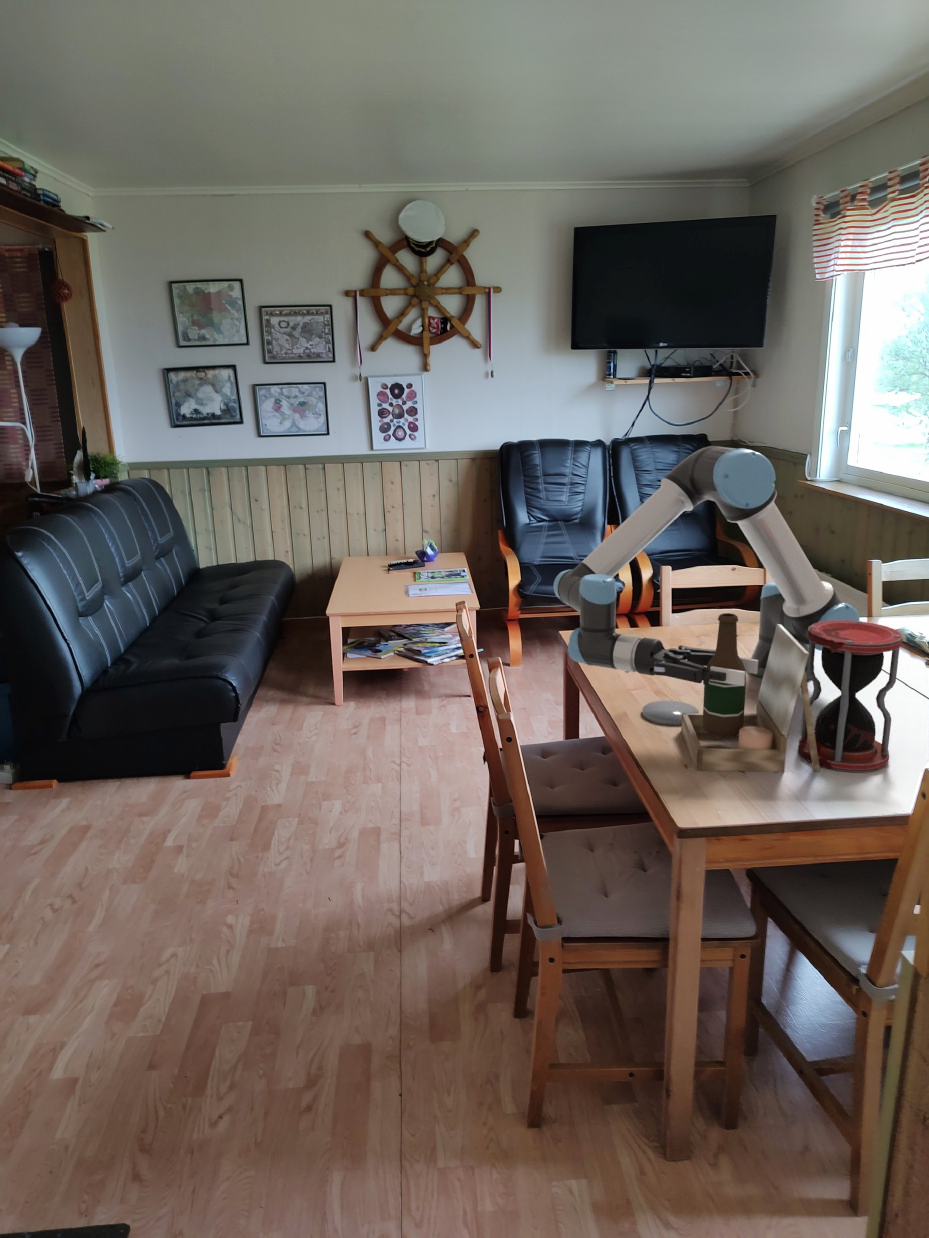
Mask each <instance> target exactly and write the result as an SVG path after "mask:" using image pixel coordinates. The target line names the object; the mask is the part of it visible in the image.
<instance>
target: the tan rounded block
mask: <svg viewBox="0 0 929 1238" xmlns="http://www.w3.org/2000/svg"><path fill="white" fill-rule="evenodd" d="M772 736H773V733H772V732H771V731H770V730H768V729H766V728H762V727H757V726H747V727H743V728H741V729H740V730H739V735H738V745H737V749H772Z"/></svg>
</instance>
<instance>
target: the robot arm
mask: <svg viewBox="0 0 929 1238" xmlns="http://www.w3.org/2000/svg"><path fill="white" fill-rule="evenodd" d="M776 480H777V478H776V472H775V469H774V467H773V465H772V463H771V461H770V460H769V458H767V457H766V456H765V455H764V454H761V453H760V452H757V451H755V450H752V449H749V448H748V449H747V448H742V447H741V448H740V447H739V448H734V447H726V446H725V447H724V446H718V445H710V446H706V447H702V448H700V449H698V450H696V451H695V452H693V453H691V454H690V455H689V456H686V458H684V459H683V460H682V461H681V462H679V464H677V465H676V466H675V467H673V469H672V470H671V471H670V472H668V473H667V474H666V475H664V477H663V478H662V479H661V480H660V487H659V488H658V489H657V490H656V491H655V492H654V493H652V495H650V497H648V498H647V499H646V500H645V501H644V502H643V503H642V504H641V505H640V506H639V507H638V508H637V509H636V510H634V511H633V513H631V514H630V515H629V516H628V517H627V518H626V519H625V520H624V521H623V522H622V523H621V524H620V525H618V527H617V528H615V530H614V531H613V532H612V533H610V535H608V536H607V537H606V538H605V539H604V540H603V541H602V542H601V543H600V544H599V545H598V546H597V547H595V548H594V550H593V551H591V552H590V553H589V554H588V555H587V557H585V558H584V559H583V560H582V561H581V562H580V563H578V565H577V566H576V567H574V569H567V570H563V571H561V572H559V573H558V575H556V577H555V579H554V582H553V591H554V594H555V596H556V597H557V598H558V599H559V600H560V601H561V603H563V604H565V605H566V606H569V607H571V608H572V609H574V610H575V611H576V612H578V613H579V623H580V624H579V627H578V628H577V627H576V628H575V629H573V631H572V632H571V633H570V636H569V638H568V639H569V642H568V643H567V650H568V651H567V652H568V655H569V658H571V660H572V661H574V662H576V663H580V664H584V665H587V666H591V667H592V666H594V667H600V668H607V669H608V668H609V669H614V670H617V671H624V673H625V674H629V672H631V673H638V674H641V675H646V676H662V677H663V676H664V677H669V678H674V679H677V680H682V681H687V682H691V683H695V684H701V683H702V684H703V686H704V685H708V684H709V679H710V681H716V682H722V683H728V684H734V685H740V686H744V685H745V671H739V670H733V669H727V668H720V667H714V666H711V667H710V670H709V668H708V667H707V665H708V662H709V661H710V659H711V658H712V657H713V656H714V654H715V651H716V649H709V648H699V647H691V646H686V645H677V647H678V648H676V647H675V648H674V647H671V648H665V647H664V645H663V642H662V640H660V639H656V638H652V637H651V638H650V637H641V636H638V635H631V634H625V633H624V634H622V633H618V632H617V633H616V628H617V627H616V626H617V624H616V617H617V614H616V613H617V597H618V594H617V584H616V578H614V577H615V576H616V575H617V574H619V572H621V571H622V570H623V569H624V568H625V567H626V566H627V565H628V564H629V563H630V562H631V561H632V560H633V559H634V558H636V556H637V555H639V554H640V553H641V552H642V551H643V550H644V549H645V548H646V547H647V546H648V545H649V544H651V542H653V541H654V539H656V538H657V537H658V536H659V535H660V534H661V533H662V532H663V531H664V530H666V529H667V528H668V527H669V526H670V524H672V523H673V522H674V521H675V520H676V519H678V518H679V516H680V515H681V514H683V512H685V511H686V512H691V511H693V510H694V508H695V507H697V506H698V505H700V504H701V503H702V502H705V501H712V502H715V503H716V505H717V506H718V508H719V510H720V511H721V513H722V515H723V517H724V518H725V519H726V521H727V522H730V523H733V524H734V523H737V524H738V526H739V528H740V530H741V531H742V533H743V534H744V536H745V537H746V539H747V541H748V543H749V544H750V546H751V547H752V549H753V551H754V552H755V553H756V556H757V557H758V559H759V561H760V562H761V564H762V565H763V567H764V568H765V571H767V573H768V575H769V576H770V578H771V580H772V581H769V582H767V583H765V584H764V585H763V586H762V590H761V595H760V612H759V627H758V639H757V643H756V645H755V648H754V650H753V653H752V655H751V656H750V658H746V657H740V656H739V658H740V659H741V661H742V662H743V664H744V667H745V670H746V673H747V674H752V675H754V676H755V677H758V678H761V679H763V676H764V672H765V668H766V664H767V661H768V657H769V653H770V649H771V645H772V642H773V638H774V634H775V630H776V626H777V624H780V625H782V626H783V627H784V628H785V629H786V630H787V631H788V632H789V633H790V634H791V635H792V636H793V637H794V638H795V639H796V640H797V641H798V643H799V644H800V645H801V646H802V647H803V648H804V649H805V650H806V651H807V652H808V650H809V638H808V627H810V626H811V625H813V624H815V623H819V622H824V621H839V620H847V621H861V620H860V619H861V618H860V615H859V613H858V610H857V609H856V608H854V606H852V604H849V603H847V602H843V601H842V600H841V598H840V597H839V595H838V594H837V592H836V590H835V588H834V587H833V585H832V584H831V583H829V582H828V581H823V580H821V579H820V577H819V576H818V574H817V572H816V570H815V569H814V567H813V566H812V564H811V561H809V559H808V557H807V556H806V554H805V552H804V551H803V549H802V547H801V546H800V543H799V542H798V541H797V538H796V536H795V535H794V533H793V532H792V530H791V528H790V527H789V525H788V523H787V521H786V520H785V518H784V517H783V515H782V514H781V511H780V510H779V508H778V506H777V505H776V503H775V500H776V498H777V496H778V495H777V494H778V493H777V490H776V488H775V487H776V485H775V481H776ZM822 648H823V646H820V645H818V644H816V643H815V650H817V651H821V652H822ZM807 661H808V660H807ZM813 671H814V672H815V666H814V667H813ZM805 672H806V678H807V681H808V680H811V679H810V677H809V676H808V672H807V663H806V667H805Z"/></svg>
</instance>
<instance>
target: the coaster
mask: <svg viewBox="0 0 929 1238" xmlns="http://www.w3.org/2000/svg"><path fill="white" fill-rule="evenodd" d="M682 713H700V711H699V709H698V708H697V707H695V705H693V704H689V703H686V702H682V701H675V700H657V701H656V700H655V701H651V702H648V703H647V704H645V705H644V706H643V707H642V717H644V719H647V720H648V721H650V722H652V723H656V724H660V725H666V726H681V725H682Z"/></svg>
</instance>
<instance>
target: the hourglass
mask: <svg viewBox="0 0 929 1238" xmlns="http://www.w3.org/2000/svg"><path fill="white" fill-rule="evenodd" d="M808 638H809V650H808V653H809V656H808V661H807V672H808V676H809V677H810V679H809V680H811V681H812V685H813V691H812V695H811V696H809V699H810V705H811V706H812V705H813V703H814V702H816V701H817V700H818V699H819V698H820V696H821V694H822V685H821V682H820V680H819V679H818V678H817V677H816V674H815V670H814V671H813V667H814V668H815V656H816V655H815V654H816V653H815V652H816V649H815V643H816V644H818V645H820V646H823V648H822V651H821V653H820V655H821V656H820V657H821V658H820V659H821V667H822V669H823V672H824V674H825V675H826V676H827V678H828V679H829V681H831V682H832V683H833V685H835V687H836V688H837V690H839V692H840V695H838V696H837V697H835V698H834V699H833V700H832V701H830V702H829V703H828V704H827V705H825V706H824V707H823V708H822V709H821V710H820V712H819V713H818V714H817V716H816V720H815V723H814V733H815V739H816V746H817V753H818V760H819V766H820V767H823V768H826V769H830V770H834V771H840V772H849V773H869V772H874V771H878V770H880V769H883V768H885V767H886V766H887V764H889V760H890V751H889V742H890V735H891V727H892V717H891V713H890V712H889V711H888V709H887V707H886V704H885V698H886V696H887V693H888V692H889V691H890V690H891V689H892V688H893V687H894V686H895V684H896V681H897V674H898V664H899V658H900V657H899V655H900V648H901V646H903V635H902V633H901V632H900V631H898V630H896V629H895V628H892V627H889V626H886V625H882V624H878V623H874V622H866V621H863V620H862V621H861V620H860V621H847V620H839V621H824V622H819V623H815V624H813V625H811V626H810V627H808ZM886 652H891V657H890V667H889V676H888V681H887V682H886V683H885V686H883V687H882V688H880V689H879V690H878V693H877V694H876V697H875V700H876V706H877V708H878V709H879V711H880V712H881V713H882V717H883V719H884V720H883V730H882V739H881V742H880V741H877V740H876V734H877V733H876V721H875V720H874V718H873V715H872V714H871V713H870V711H869V710H868V709H867V707H866V706H865V705H864V704H863V703H862V702H861V701H860V700H859V699H858V698H857V697H856V696H857V695H856V694H858V693H859V692H861V691H862V690H864V689H865V688H866V687H868V686H869V685H870V684H871V683H872V682H874V681H875V680H876V679H877V678H878V676H879V675H880V674H881V672H882V671H883V670H882V669H883V665H884V661H885V655H884V653H886ZM801 721H802V724H801V732H800V733H801V735H800V738H799V739H798V749H797V750H798V753H799V754H800V755H801V756H802V758H804V759H805V760H807V761H808V762H810V763H812V760H811V753H810V746H809V740H808V733H807V726H806V720H805V713H804V707H803V711H802V720H801Z"/></svg>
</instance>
